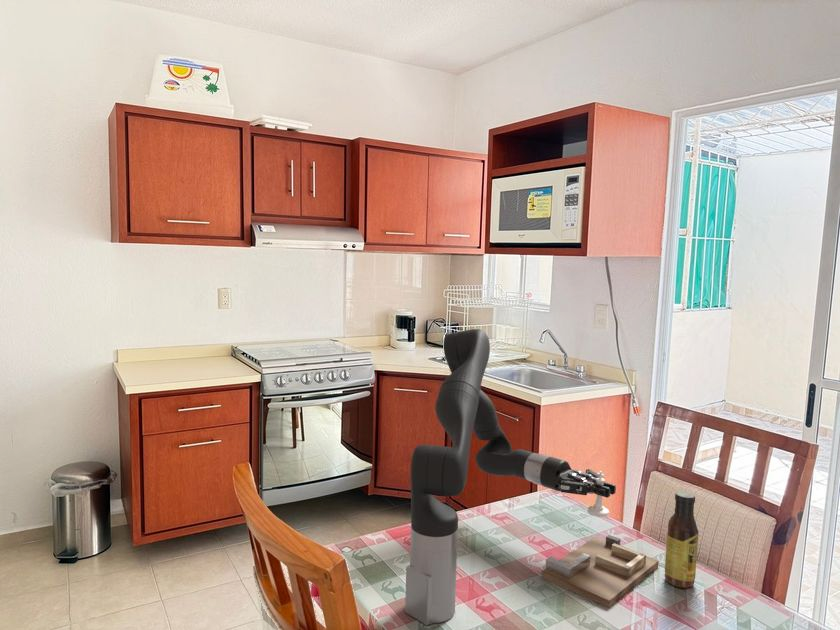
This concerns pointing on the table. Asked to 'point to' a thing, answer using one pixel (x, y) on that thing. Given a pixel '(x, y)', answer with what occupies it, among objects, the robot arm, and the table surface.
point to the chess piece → (599, 501)
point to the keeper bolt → (568, 565)
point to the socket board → (605, 570)
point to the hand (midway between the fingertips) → (612, 491)
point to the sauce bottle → (682, 543)
